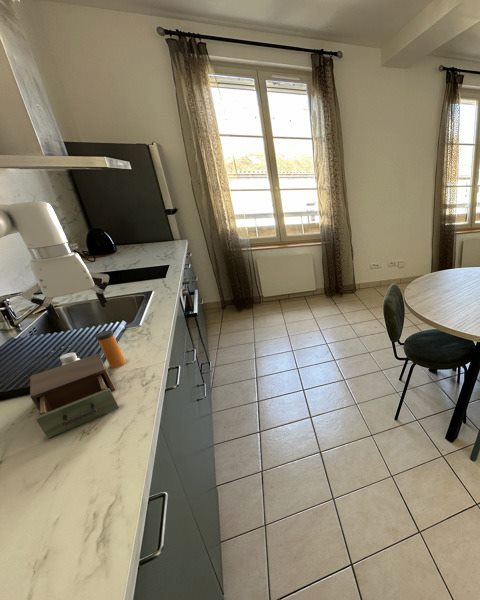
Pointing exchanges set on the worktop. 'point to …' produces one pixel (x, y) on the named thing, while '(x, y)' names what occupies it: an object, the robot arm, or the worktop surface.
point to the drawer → (74, 405)
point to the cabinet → (68, 377)
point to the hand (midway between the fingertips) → (81, 312)
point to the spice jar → (110, 348)
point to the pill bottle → (68, 358)
